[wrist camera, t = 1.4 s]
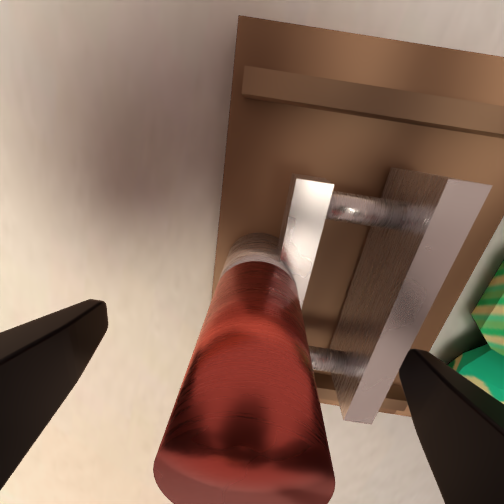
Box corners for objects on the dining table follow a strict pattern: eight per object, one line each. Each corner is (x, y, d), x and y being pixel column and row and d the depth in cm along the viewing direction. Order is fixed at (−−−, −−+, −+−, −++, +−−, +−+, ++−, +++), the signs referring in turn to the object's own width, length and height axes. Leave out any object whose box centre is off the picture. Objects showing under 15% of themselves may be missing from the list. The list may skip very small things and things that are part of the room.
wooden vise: (776, 113, 10) (1407, 77, 4) (519, 416, 17) (639, 547, 12) (241, 29, 10) (209, -115, 4) (207, 369, 17) (178, 478, 11)
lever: (421, 171, 10) (939, 270, 2) (347, 360, 14) (447, 631, 6) (240, 143, 10) (147, 148, 2) (217, 340, 14) (155, 587, 6)
